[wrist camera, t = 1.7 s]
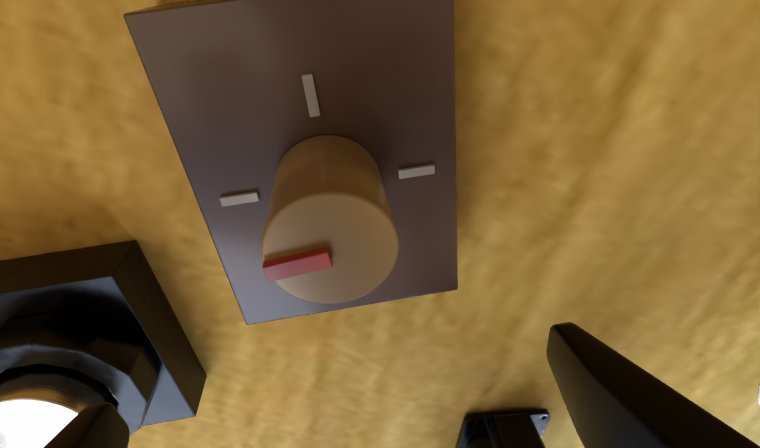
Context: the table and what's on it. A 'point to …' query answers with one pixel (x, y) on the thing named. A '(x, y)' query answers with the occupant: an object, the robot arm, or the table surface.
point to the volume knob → (328, 223)
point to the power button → (44, 403)
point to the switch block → (101, 328)
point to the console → (310, 122)
